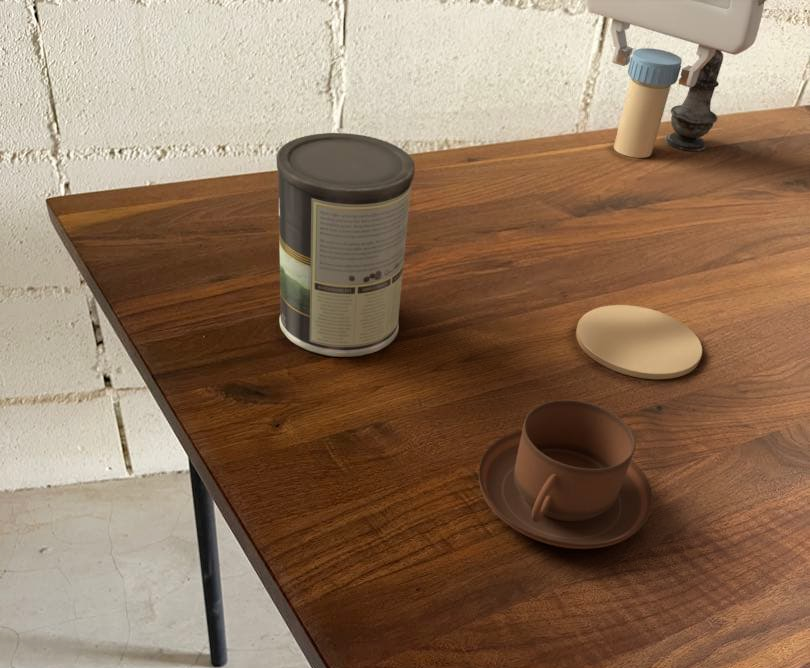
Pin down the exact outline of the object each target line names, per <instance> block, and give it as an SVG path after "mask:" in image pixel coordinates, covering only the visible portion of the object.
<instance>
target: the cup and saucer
mask: <svg viewBox="0 0 810 668" xmlns="http://www.w3.org/2000/svg"><path fill="white" fill-rule="evenodd" d="M523 422H524V423H523V426H522V430H519V431H518V430H517V431H515V432H512V433H509V434H506V435H504V436H503V437H501V438H499V439H498V440H496V441H495V442H493V443H492V444H491V445H490V446H489V447H488V448H487V450H485V452H484V453H483V455H482V458H481V459H480V462H479V466H478V483H479V484H478V485H479V488H480V491H481V494H482V497H483V498H484V501H485V502H486V503H487V505H488V507H489V508H490V509H491V510H492V512H493V513H494V514H495V516H497V517H498V518H499V519H500V520H501V521H502V522H504V523H505V524H506V525H508V527H510V528H512V529H513V530H515V531H516V532H518V533H520V534H522V535H524V536H525V537H527V538H530V539H532V540H534V541H537V542H540V543H543V544H546V545H549V546H554V547H558V548H564V549H573V550H585V549H599V548H604V547H605V548H606V547H611V546H612V545H617V544H618V543H621V542H623V541H626V540H627V539H628V538H630V537H632V536H633V535H635V534H636V533H637V532H638V531H639V530H640V529H641V528H642V527H643V525H644V524H645V523H646V522H647V520H648V518H649V516H650V514H651V512H652V509H653V505H654V503H653V502H654V496H653V490H652V487H651V484H650V482H649V479H648V478H647V475H646V474H645V473H644V471H643V470H642V468H641V467H640V466H639V465H638V464H637V463H636V462H635V460H633V457H634V453H635V450H636V438H635V435H634V433H633V430H632V429H631V428H630V426H629V425H628V424H627V423H626V422H625V421H624V420H623V419H622V418H621V417H620V416H618V415H617V414H616V413H614V412H612V411H611V410H609V409H606V408H605V407H602V406H600V405H597V404H594V403H591V402H587V401H583V400H575V399H558V400H556V399H555V400H550V401H547V402H544V403H541V404H539V405H537V406H535V407H534V408H532V409H531V410H530V411H529V412H528V413H527V415H526V417H525V419H524V421H523Z"/></svg>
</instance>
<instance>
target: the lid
mask: <svg viewBox="0 0 810 668" xmlns="http://www.w3.org/2000/svg"><path fill="white" fill-rule="evenodd" d="M682 59H683V58H681V57H680V56H679V55H677V54H675V53H674V52H671V51H667V50H664V49H658V48H647V47H646V48H645V47H644V48H638V49H635V50H633V51H632V55H631V56H630V62H629V64H628V69H627V75H628V76H629V77H630V79H631V78H632V79H634V80H636V81H639V82H642V83H645V84H650V85H656V86H668V85H671V86H673V85H674V84H676V83H677V81H678V80H679V75H680V73H681V68H682V62H683V60H682Z"/></svg>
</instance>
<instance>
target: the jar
mask: <svg viewBox="0 0 810 668" xmlns="http://www.w3.org/2000/svg"><path fill="white" fill-rule="evenodd" d="M671 88H672V85H668V86H656V85H650V84H645V83H642V82H639V81H636V80H634V79H632V78H631V77H630V79H629V82H628V87H627V91H626V96H625V99H624V103H623V108H622V111H621V115H620V119H619V122H618V127H617V131H616V136H615V139H614V143H613V149H614V151H616V152H617V153H618V154H620V155H623V156H625V157H630V158H635V159H644V158H645V159H646V158H648V157H650V156H652V154H653V151H654V148H655V143H656V141H657V137H658V133H659V130H660V128H661V127H660V126H661V122H662V119H663V116H664V112H665V109H666V106H667V102H668V98H669V94H670V91H671Z"/></svg>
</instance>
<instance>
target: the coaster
mask: <svg viewBox="0 0 810 668" xmlns="http://www.w3.org/2000/svg"><path fill="white" fill-rule="evenodd" d="M575 337H576V340H577V343H578V345H579V347H580V348H581V349H582V351H583V352H584V353H585V354H586V355H587V356H588V357H589V358H591V359H592V360H593V361H594V362H596V363H598V364H599V365H601V366H603V367H605V368H607V369H609V370H611V371H614V372H616V373H618V374H622V375H626V376H629V377H633V378H639V379H645V380H671V379H675V378H680V377H682V376H686V375H687V374H689V373H691V372H692V371H694V370H695V369H696V368H697V367H698V365H699V363H700V361H701V359H702V356H703V345H702V343H701V340H700V339H699V337H698V336H697V334H696V333H695V332H694V331H693V330H692V329H691V328H690V327H688V326H687V325H686V324H684V323H683V322H681V321H680V320H678V319H676V318H675V317H673V316H670V315H668V314H666V313H663V312H661V311H658V310H655V309H652V308H647V307H643V306H638V305H629V304H611V305H603V306H599V307H597V308H596V307H595V308H593V309H591V310H589V311H588V312H586V313H585V314H583V315H582V317H581V318H580V319H579V320H578V323H577V326H576V331H575Z"/></svg>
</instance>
